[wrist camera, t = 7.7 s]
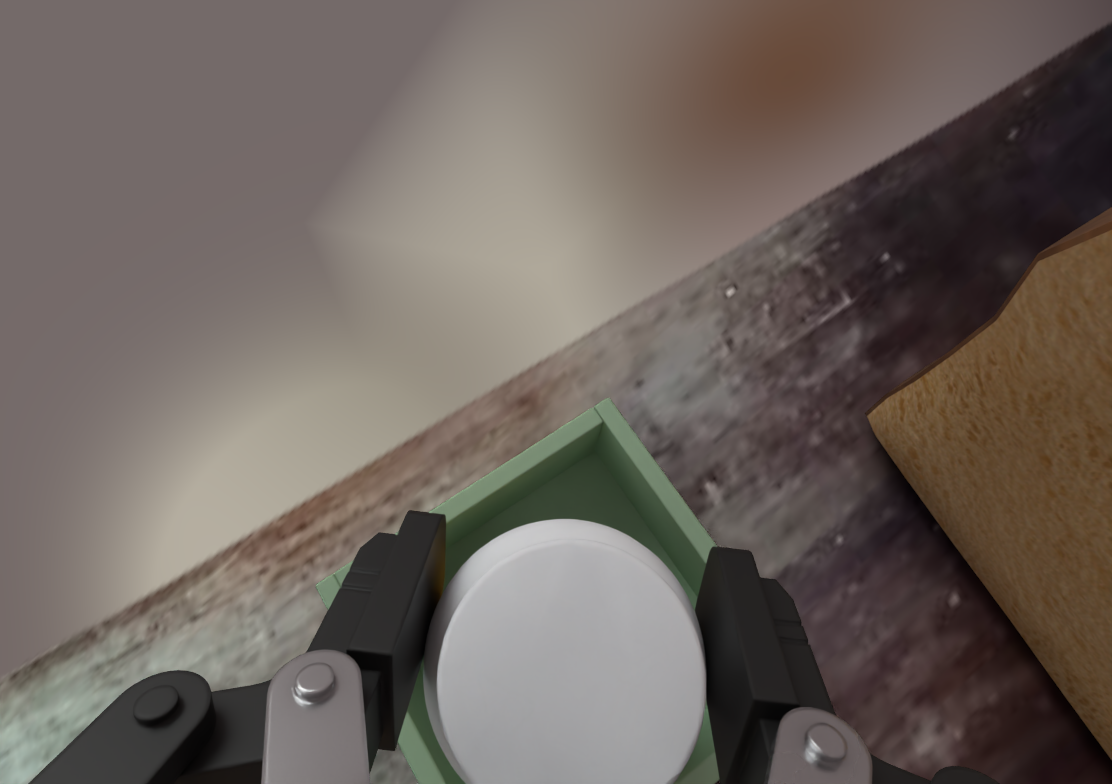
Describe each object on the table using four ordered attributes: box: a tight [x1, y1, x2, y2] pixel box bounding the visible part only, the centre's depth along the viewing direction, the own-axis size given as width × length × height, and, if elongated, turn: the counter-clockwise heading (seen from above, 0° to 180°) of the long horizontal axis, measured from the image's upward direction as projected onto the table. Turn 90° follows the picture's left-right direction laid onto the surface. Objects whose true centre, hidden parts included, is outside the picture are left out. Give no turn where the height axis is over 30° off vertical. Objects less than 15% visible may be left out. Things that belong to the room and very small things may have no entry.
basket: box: [316, 398, 720, 784], centre depth 20 cm, size 10×10×4 cm
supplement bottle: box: [423, 519, 707, 784], centre depth 14 cm, size 5×5×10 cm
